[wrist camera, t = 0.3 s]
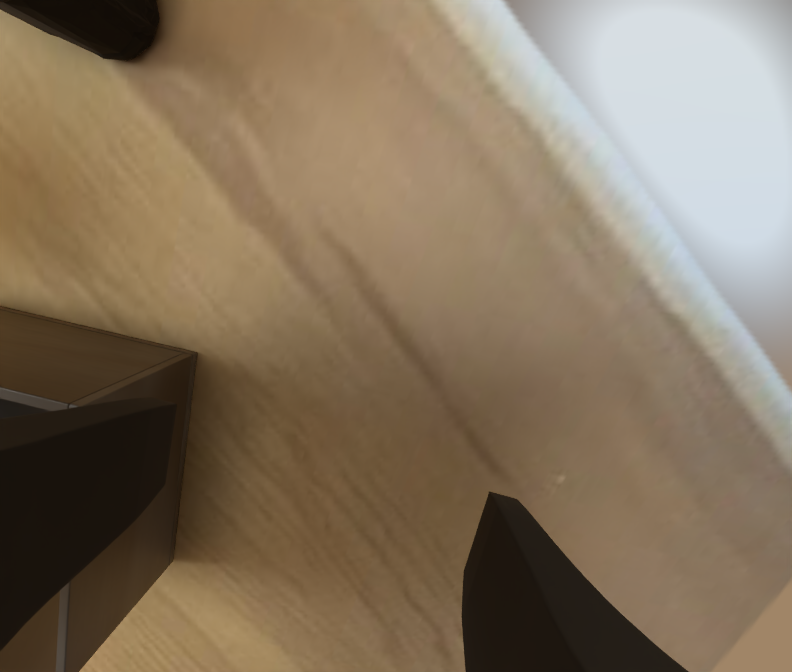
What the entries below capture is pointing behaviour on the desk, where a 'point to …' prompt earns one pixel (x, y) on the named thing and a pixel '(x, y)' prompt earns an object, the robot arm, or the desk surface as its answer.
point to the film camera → (93, 23)
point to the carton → (86, 385)
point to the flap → (34, 642)
